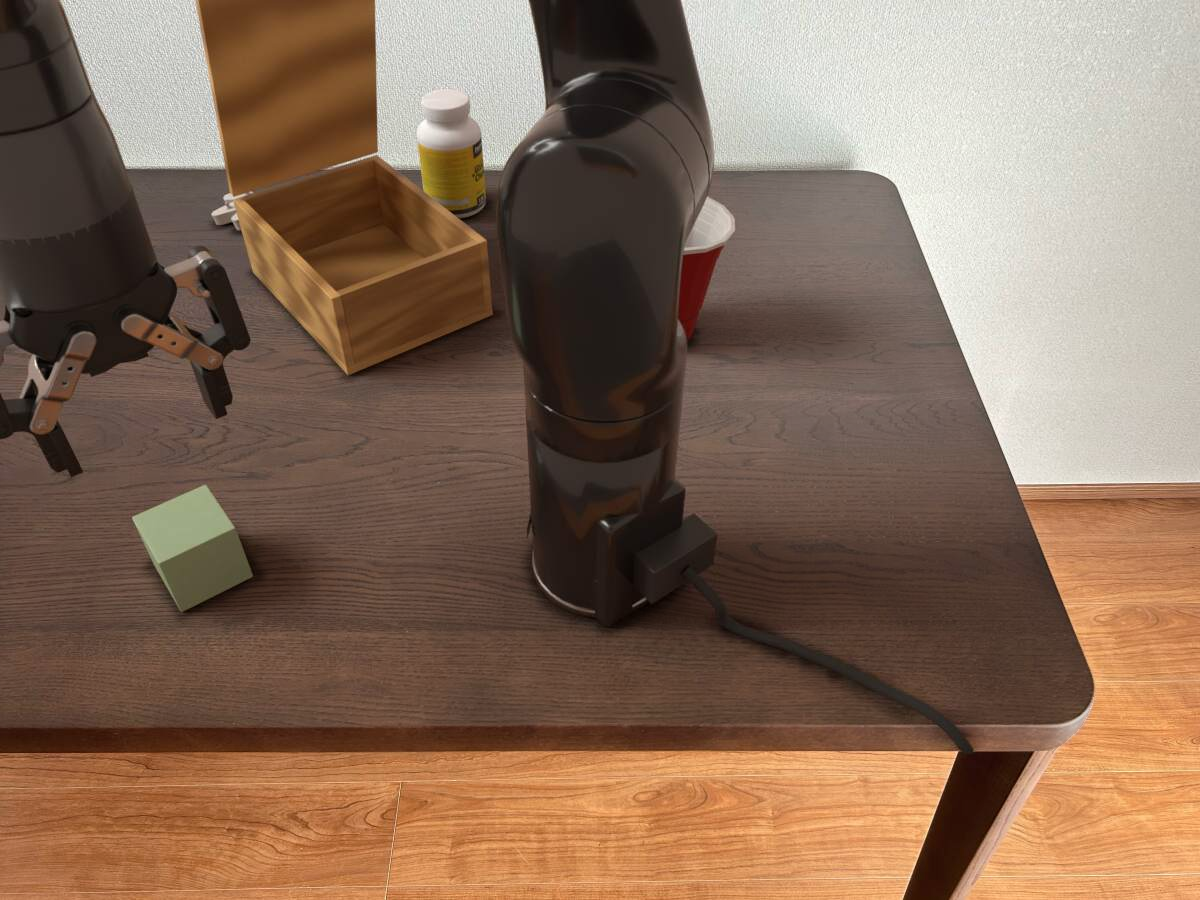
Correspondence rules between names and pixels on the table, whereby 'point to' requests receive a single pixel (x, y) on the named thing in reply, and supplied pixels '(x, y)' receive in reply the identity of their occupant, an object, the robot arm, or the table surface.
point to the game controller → (228, 211)
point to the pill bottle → (451, 153)
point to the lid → (290, 85)
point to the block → (193, 547)
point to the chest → (366, 261)
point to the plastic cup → (702, 259)
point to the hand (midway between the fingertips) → (147, 437)
